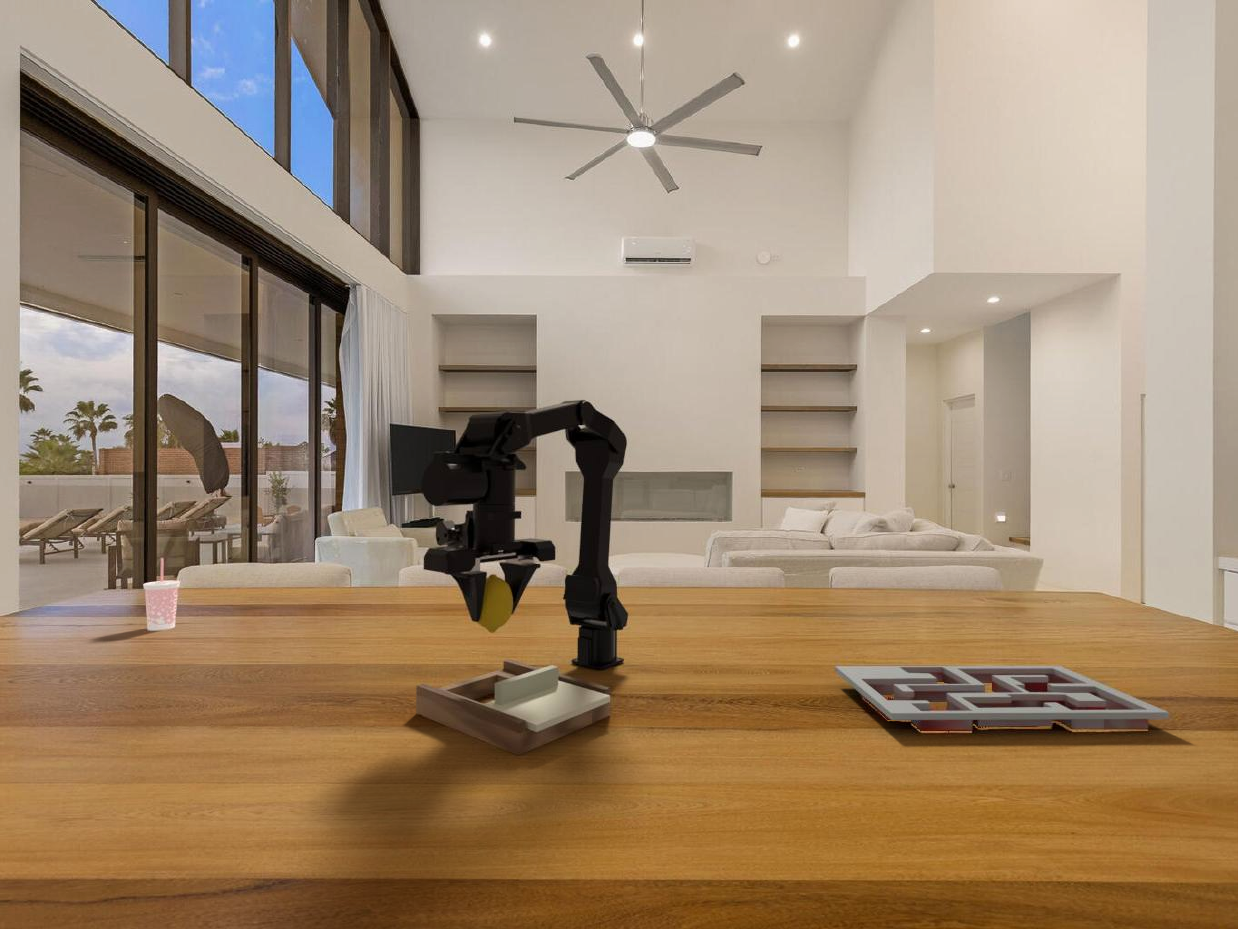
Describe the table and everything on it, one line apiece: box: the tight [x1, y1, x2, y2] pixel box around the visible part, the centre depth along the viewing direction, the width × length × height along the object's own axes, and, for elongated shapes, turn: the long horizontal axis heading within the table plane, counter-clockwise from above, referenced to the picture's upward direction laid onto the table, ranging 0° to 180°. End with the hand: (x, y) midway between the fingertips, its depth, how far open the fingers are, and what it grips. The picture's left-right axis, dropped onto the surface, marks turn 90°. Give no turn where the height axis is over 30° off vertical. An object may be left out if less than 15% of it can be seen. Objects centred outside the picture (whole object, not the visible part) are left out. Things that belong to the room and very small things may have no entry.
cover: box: [481, 664, 611, 732], centre depth 84 cm, size 13×10×3 cm
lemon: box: [476, 573, 513, 634], centre depth 91 cm, size 6×6×8 cm
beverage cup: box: [142, 557, 181, 632], centre depth 134 cm, size 6×6×14 cm
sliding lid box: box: [415, 658, 611, 757], centre depth 88 cm, size 16×20×4 cm
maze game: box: [834, 665, 1170, 732], centre depth 92 cm, size 35×20×3 cm, turn 92°
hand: (492, 617), depth 91 cm, fingers closed on lemon, 5 cm apart
